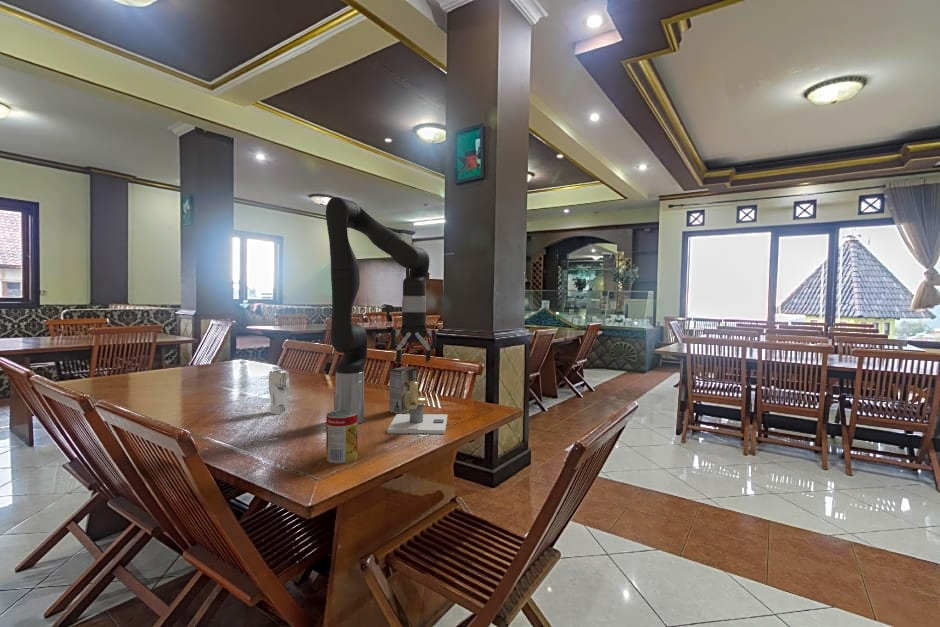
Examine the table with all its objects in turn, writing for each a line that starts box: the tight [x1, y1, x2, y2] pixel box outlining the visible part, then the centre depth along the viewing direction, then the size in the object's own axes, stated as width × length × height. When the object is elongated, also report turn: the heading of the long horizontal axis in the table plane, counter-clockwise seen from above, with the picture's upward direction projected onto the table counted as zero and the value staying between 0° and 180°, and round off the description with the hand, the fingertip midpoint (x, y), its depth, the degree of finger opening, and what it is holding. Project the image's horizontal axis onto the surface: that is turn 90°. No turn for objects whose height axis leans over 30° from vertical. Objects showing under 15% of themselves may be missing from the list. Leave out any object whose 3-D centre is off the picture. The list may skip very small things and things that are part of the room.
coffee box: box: [388, 366, 418, 414], centre depth 162 cm, size 9×6×16 cm
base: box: [386, 404, 448, 435], centre depth 144 cm, size 18×18×7 cm
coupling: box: [406, 381, 428, 409], centre depth 141 cm, size 7×12×8 cm, turn 0°
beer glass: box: [268, 369, 290, 415], centre depth 158 cm, size 7×7×15 cm
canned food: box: [325, 409, 358, 465], centre depth 114 cm, size 8×8×12 cm
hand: (413, 362), depth 136 cm, fingers open, 8 cm apart
